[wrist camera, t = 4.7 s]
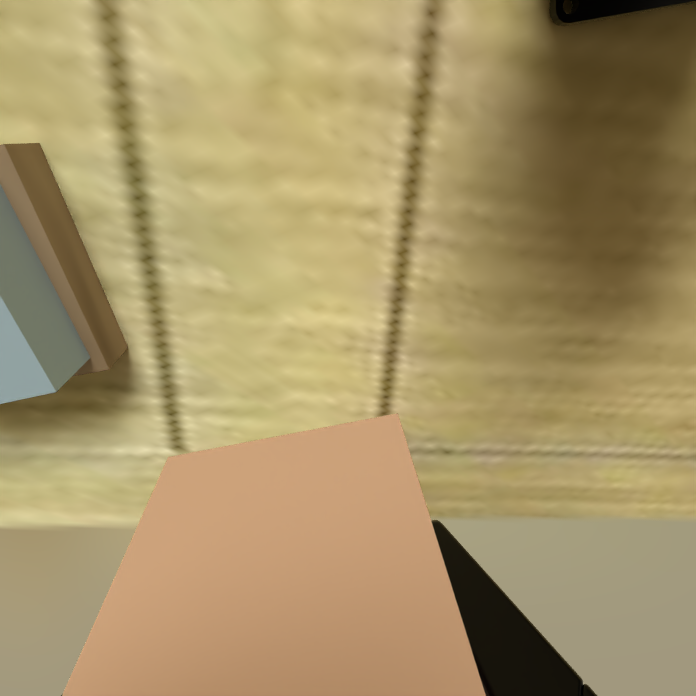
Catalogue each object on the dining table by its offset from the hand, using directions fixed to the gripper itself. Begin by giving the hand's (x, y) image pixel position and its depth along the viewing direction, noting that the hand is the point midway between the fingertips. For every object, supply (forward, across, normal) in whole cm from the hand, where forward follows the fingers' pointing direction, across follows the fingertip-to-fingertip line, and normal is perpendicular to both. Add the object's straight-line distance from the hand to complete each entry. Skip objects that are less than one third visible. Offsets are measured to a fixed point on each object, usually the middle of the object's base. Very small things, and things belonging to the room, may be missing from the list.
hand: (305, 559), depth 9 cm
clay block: (+1, 0, 0) cm, 1 cm away
